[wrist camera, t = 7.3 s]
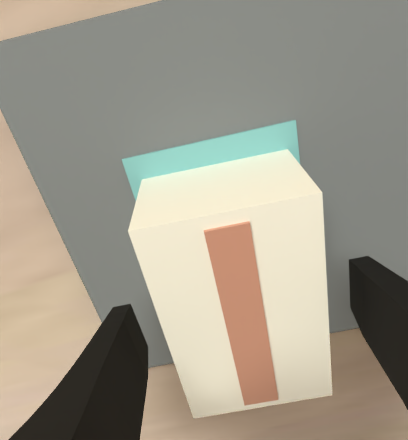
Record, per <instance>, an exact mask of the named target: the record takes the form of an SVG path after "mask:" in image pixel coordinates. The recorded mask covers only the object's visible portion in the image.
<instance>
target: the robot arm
mask: <svg viewBox="0 0 408 440" xmlns="http://www.w3.org/2000/svg"><path fill="white" fill-rule="evenodd" d="M349 284H350V308H351V310H352V313H353V315H354V317H355V319H356V322H357V324H358V326H359V328H360V330H361V332H362V335H363V337H364V338H365V340H366V342H367V343H368V345H369V347H370V348H371V350H372V352H373V353H374V355H375V356H376V358H377V360H378V361H379V363H380V365H381V366H382V368H383V369H384V371H385V373H386V374H387V376H388V378H389V379H390V381H391V382H392V384H393V386H394V387H395V389H396V391H397V392H398V394H399V395H400V397H401V399H402V400H403V402H404V404H405V406H406V408H407V409H408V281H407V280H405V279H404V278H402V277H401V276H399V275H397V274H396V273H394V272H393V271H391V270H390V269H388V268H386V267H385V266H383V265H382V264H380V263H379V262H377V261H376V260H374V259H372V258H371V257H369V256H364V257H359V258H354V259H349ZM147 380H148V345H147V342H146V340H145V337H144V335H143V333H142V330H141V328H140V325H139V323H138V320H137V318H136V316H135V313H134V311H133V308H132V306H131V304H126V305H121V306H116V307H113V308H112V309H111V311H110V312H109V314H108V315H107V317H106V318H105V320H104V321H103V323H102V324H101V326H100V327H99V329H98V330H97V332H96V333H95V335H94V336H93V338H92V339H91V341H90V342H89V344H88V345H87V346H86V348H85V349H84V351H83V352H82V354H81V355H80V357H79V358H78V359H77V361H76V362H75V364H74V365H73V366H72V367H71V369H70V370H69V371H68V373H67V374H66V375H65V377H64V378H63V379H62V381H61V382H60V383H59V385H58V386H57V387H56V388H55V390H54V391H53V392H52V393H51V394H50V396H49V397H48V398H47V399H46V400H45V401H44V403H43V404H42V405H41V406H40V407H39V408H38V409H37V411H36V412H35V413H34V414H33V415H32V416H31V417H30V418H29V419H28V420H27V421H26V422H25V423H24V424H23V425H22V427H21V428H20V429H19V430H18V431H17V432H16V433H15V434H14V435H13V436H12V437H11V438H10V439H9V440H140V433H141V425H142V418H143V411H144V403H145V396H146V388H147Z"/></svg>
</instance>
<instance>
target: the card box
mask: <svg viewBox="0 0 408 440" xmlns="http://www.w3.org/2000/svg"><path fill="white" fill-rule="evenodd" d="M128 233H129V236H130V239H131V241H132V244H133V247H134V250H135V253H136V256H137V259H138V261H139V264H140V267H141V270H142V273H143V276H144V279H145V281H146V284H147V287H148V290H149V293H150V296H151V298H152V301H153V304H154V307H155V310H156V313H157V316H158V318H159V321H160V324H161V327H162V330H163V333H164V336H165V338H166V341H167V344H168V347H169V350H170V353H171V356H172V358H173V361H174V364H175V367H176V370H177V373H178V375H179V378H180V381H181V384H182V387H183V390H184V393H185V395H186V398H187V401H188V404H189V407H190V410H191V413H192V415H193V418H194V419H196V418H202V417H207V416H213V415H219V414H225V413H231V412H237V411H243V410H249V409H254V408H260V407H266V406H272V405H278V404H284V403H290V402H296V401H301V400H307V399H313V398H319V397H325V396H331V395H332V375H331V355H330V335H329V315H328V295H327V275H326V255H325V235H324V215H323V195H322V191H321V190H320V189H319V188H318V186H317V185H316V184H315V183H314V181H313V180H312V179H311V178H310V176H309V175H308V174H307V173H306V171H305V170H304V169H303V168H302V166H301V165H300V164H299V163H298V161H297V160H296V159H295V158H294V156H293V155H292V154H291V153H290V151H289V150H288V149H286V150H281V151H276V152H272V153H267V154H262V155H257V156H252V157H248V158H243V159H238V160H233V161H228V162H223V163H219V164H214V165H209V166H204V167H199V168H195V169H190V170H185V171H180V172H175V173H170V174H166V175H161V176H156V177H151V178H146V179H142V181H141V184H140V188H139V192H138V196H137V199H136V203H135V207H134V211H133V214H132V218H131V222H130V226H129V229H128Z"/></svg>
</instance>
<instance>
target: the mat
mask: <svg viewBox="0 0 408 440" xmlns="http://www.w3.org/2000/svg"><path fill="white" fill-rule="evenodd" d="M0 109H1V111H2V113H3V116H4V118H5V120H6V122H7V124H8V126H9V128H10V130H11V132H12V134H13V137H14V139H15V141H16V143H17V145H18V147H19V149H20V151H21V153H22V156H23V158H24V160H25V162H26V164H27V166H28V168H29V170H30V172H31V174H32V177H33V179H34V181H35V183H36V185H37V187H38V189H39V191H40V193H41V195H42V198H43V200H44V202H45V204H46V206H47V208H48V210H49V212H50V214H51V217H52V219H53V221H54V223H55V225H56V227H57V229H58V231H59V233H60V235H61V238H62V240H63V242H64V244H65V246H66V248H67V250H68V252H69V254H70V256H71V259H72V261H73V263H74V265H75V267H76V269H77V271H78V273H79V275H80V278H81V280H82V282H83V284H84V286H85V288H86V290H87V292H88V294H89V296H90V299H91V301H92V303H93V305H94V307H95V309H96V311H97V313H98V315H99V317H100V320H101V322H102V323H103V321H104V320H105V318H106V317H107V315H108V314H109V312H110V311H111V309H112V308H113V307H116V306H121V305H126V304H131V306H132V308H133V311H134V313H135V316H136V318H137V320H138V323H139V325H140V328H141V330H142V333H143V335H144V337H145V340H146V342H147V345H148V368H150V367H156V366H161V365H166V364H171V363H174V361H173V358H172V356H171V353H170V350H169V347H168V344H167V341H166V338H165V336H164V333H163V330H162V327H161V324H160V321H159V318H158V316H157V313H156V310H155V307H154V304H153V301H152V298H151V296H150V293H149V290H148V287H147V284H146V281H145V279H144V276H143V273H142V270H141V267H140V264H139V261H138V259H137V256H136V253H135V250H134V247H133V244H132V241H131V239H130V236H129V233H128V229H129V226H130V222H131V218H132V214H133V211H134V207H135V203H136V199H137V196H138V192H139V188H140V184H141V181H142V179H146V178H151V177H156V176H161V175H166V174H170V173H175V172H180V171H185V170H190V169H195V168H199V167H204V166H209V165H214V164H219V163H223V162H228V161H233V160H238V159H243V158H248V157H252V156H257V155H262V154H267V153H272V152H276V151H281V150H286V149H288V150H289V151H290V153H291V154H292V155H293V156H294V158H295V159H296V160H297V161H298V163H299V164H300V165H301V166H302V168H303V169H304V170H305V171H306V173H307V174H308V175H309V176H310V178H311V179H312V180H313V181H314V183H315V184H316V185H317V186H318V188H319V189H320V190H321V191H322V195H323V215H324V235H325V255H326V275H327V295H328V315H329V333H334V332H340V331H345V330H350V329H356V328H359V326H358V324H357V322H356V319H355V317H354V315H353V313H352V310H351V308H350V284H349V259H354V258H359V257H364V256H369V257H371V258H372V259H374V260H376V261H377V262H379V263H380V264H382V265H383V266H385V267H386V268H388V269H390V270H391V271H393V272H394V273H396V274H397V275H399V276H401V277H402V278H404V279H405V280H407V281H408V0H162V1H158V2H154V3H150V4H146V5H142V6H138V7H134V8H130V9H126V10H122V11H118V12H114V13H110V14H106V15H102V16H98V17H94V18H90V19H86V20H82V21H78V22H74V23H71V24H67V25H63V26H59V27H55V28H51V29H47V30H43V31H39V32H35V33H31V34H27V35H23V36H19V37H15V38H11V39H7V40H3V41H0Z"/></svg>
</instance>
